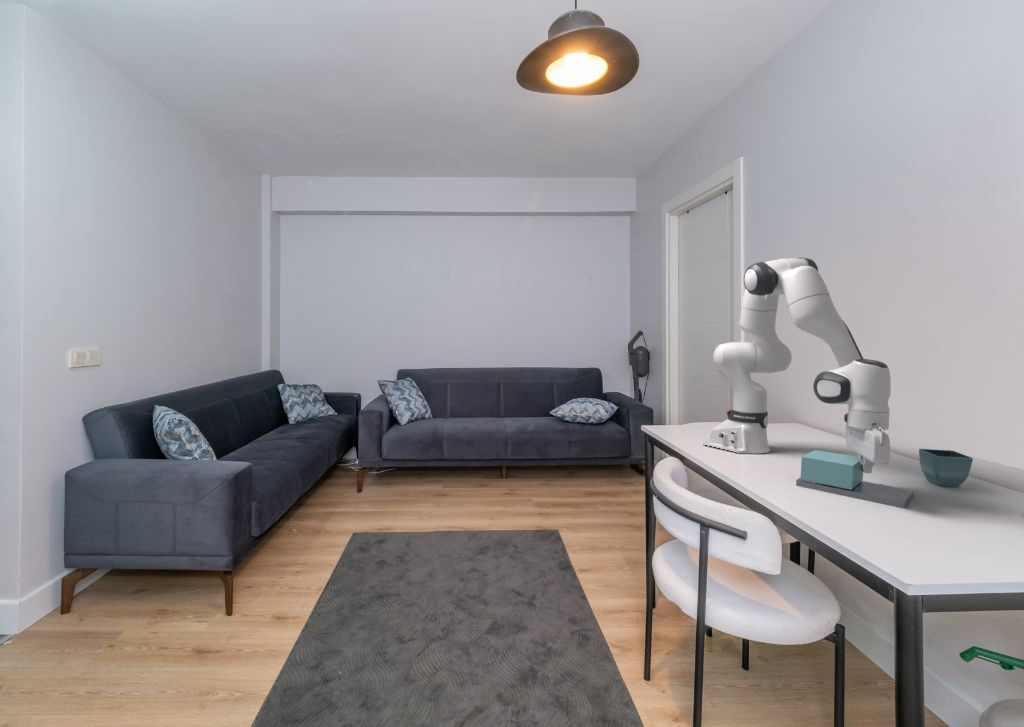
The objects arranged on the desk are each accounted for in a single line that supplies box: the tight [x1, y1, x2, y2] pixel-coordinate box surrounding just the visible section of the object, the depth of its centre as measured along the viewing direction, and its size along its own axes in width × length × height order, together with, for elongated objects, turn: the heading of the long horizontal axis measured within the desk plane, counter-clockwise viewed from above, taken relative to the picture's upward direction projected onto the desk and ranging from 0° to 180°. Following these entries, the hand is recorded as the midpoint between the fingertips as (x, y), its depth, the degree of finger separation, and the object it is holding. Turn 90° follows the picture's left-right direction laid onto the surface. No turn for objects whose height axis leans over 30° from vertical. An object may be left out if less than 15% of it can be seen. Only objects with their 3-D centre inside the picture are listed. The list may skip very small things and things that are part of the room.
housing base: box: [795, 477, 915, 509], centre depth 134 cm, size 24×13×6 cm, turn 43°
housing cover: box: [800, 449, 864, 490], centre depth 137 cm, size 12×12×6 cm
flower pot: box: [918, 448, 974, 488], centre depth 140 cm, size 9×9×9 cm
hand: (865, 472), depth 132 cm, fingers closed
